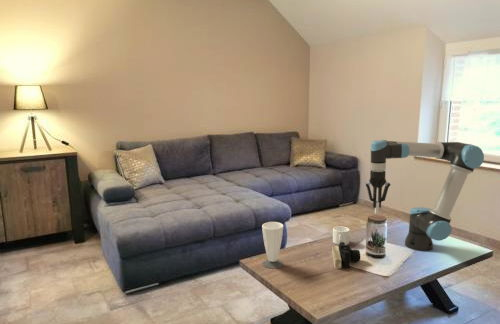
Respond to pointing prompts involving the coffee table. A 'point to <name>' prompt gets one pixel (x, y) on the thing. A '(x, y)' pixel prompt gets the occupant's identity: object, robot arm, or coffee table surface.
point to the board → (336, 257)
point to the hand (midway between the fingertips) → (376, 213)
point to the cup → (272, 243)
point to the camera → (348, 255)
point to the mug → (341, 235)
